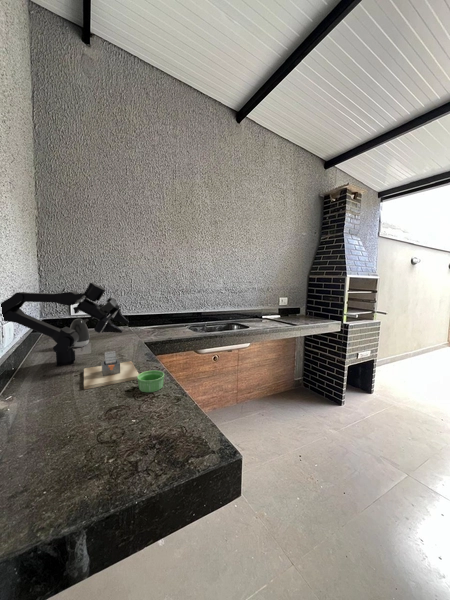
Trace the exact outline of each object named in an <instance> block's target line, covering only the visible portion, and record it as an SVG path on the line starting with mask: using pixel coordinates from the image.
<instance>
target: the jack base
mask: <svg viewBox="0 0 450 600" xmlns="http://www.w3.org/2000/svg"><path fill="white" fill-rule="evenodd" d="M100 361H101V360H100ZM139 374H140V373H139V372H138V370H137V367H135V365H134V363H133V361H131V360H129V361H124V362H120V360H119V359H118V358H116V364H109V365H105V360H102V361H101V365H97V366H92V367H91V366H90V367H85V368H83V390H88V389H93V388H94V389H95V388H100V387H103V386H110V385H115V384H121V383H124V382H130V381H131V382H132V381H136V380H137V376H138V375H139Z"/></svg>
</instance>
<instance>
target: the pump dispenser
mask: <svg viewBox="0 0 450 600" xmlns="http://www.w3.org/2000/svg"><path fill="white" fill-rule="evenodd" d="M88 321H89V319H88V318H86V319H82V318H76V319H74V320H73V321H72V322H71V324H70V327H69V328H70V329H72V330H75V332H77V333H78V335H79V340H78V341H77V342H76V343H75V345H74V346H73V348H83V347H85V346H87V345H88V343H89V342H90V339H91V336H90V331H89V328H88V326H87V324H86V323H87V322H88Z"/></svg>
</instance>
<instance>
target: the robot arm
mask: <svg viewBox="0 0 450 600" xmlns="http://www.w3.org/2000/svg"><path fill="white" fill-rule="evenodd" d="M106 291H107V289H106V288H104V287H103V286H101V285H98V284H95V283H94V282H90V283H89V284H88V286H87V287H86V290H84V292H78V291H75V290H74V291H66V292H58V293H54V292H53V293H50V292H49V293H47V292H27V291H19V292H15V293H14V294H12V295H11V297H9V298H7V299H5V300H4V301H2V302H1V303H0V304H1V307H2V314H3V317H4V321H3V322H8V323H9V322H10V323H15V324H16V323H17V324H18V325H21V326H23V327H25V328H28V329H31V330H32V331H36V332H37V333H40V334H42V335H45V336H47V337H49V338H51V339H52V340H53V341H54V342H55V345H54V346H53V347H52V349H53V352H54V353H55V362H56V363H55V367H59V366H64V365H73V364H74V363H75V361H76V350H74V347H73V346H74V345H75V343H76V342H77V341H78V340H79V335H78V333H77V332H75V330H72V329H70V327H68V326H65V327H63V328H59V327H57V326H54V325H52V324H50V323H47V322H46V321H43V320H40V319H38V318H36V317H34V316H31V315H29V314H26V313H25V312H24V311H23V310H22V309H21V308H22V306H23V305H24V304H25V303H26V302H27V303H55V304H59V305H63V306H73V305H76V304H77V305H76V306H74V307H73V308H72V309H73V313H74V314H78V313H80V312H82V313H85V314H86V315H88V316H89V318H90V319H91V320H93V319H95V320H97V323H96V324H95V326H94V328H93V330H94V332H96V333H98V334H101V333H102V334H103V333H115V334H116V333H119V334H122V333H123V330H122V329H121V328H120V327H118V326H117V325H115V324H114V323H113V322H112V321H115V322H120V323H124V324H129V323H130V321H129V320H128V319H127V318H126V317H125V316H124V314H122V311H121V310H122V309H121V306H120V305H118V303H117V299H115V298H113V297H111V296H110V297H108V298H107V300H106V303H105V304H102V303H100V304H97V303H96V302H97V301H98V302H99V301H100V300H101V298H102V297H103V295H104V294H105V292H106ZM82 299H83V300H82ZM81 300H82V301H81ZM111 319H112V320H111Z"/></svg>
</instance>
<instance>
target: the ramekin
mask: <svg viewBox="0 0 450 600" xmlns="http://www.w3.org/2000/svg"><path fill="white" fill-rule="evenodd" d="M164 378H165V373H164V371H162V370H157V369H156V370H154V369H153V370H152V369H151V370H146V371H143V372H141V373H139V375H138V376H137V379H136V380H137V383H138V390H139V391H140V392H142V393H154V392H157V391H160V390H161V389H162V388H163V387H164Z"/></svg>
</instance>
